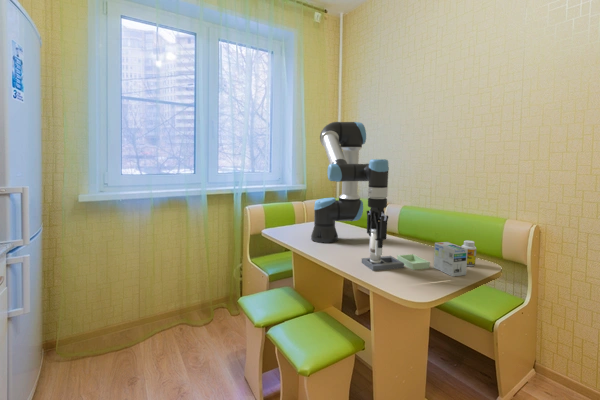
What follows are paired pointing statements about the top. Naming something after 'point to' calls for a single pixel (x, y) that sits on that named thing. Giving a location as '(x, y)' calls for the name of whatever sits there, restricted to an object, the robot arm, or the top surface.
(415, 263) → the parts tray
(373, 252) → the cylinder
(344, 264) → the top surface
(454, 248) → the light bulb box
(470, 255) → the supplement bottle
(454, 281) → the top surface
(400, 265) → the fuse holder
